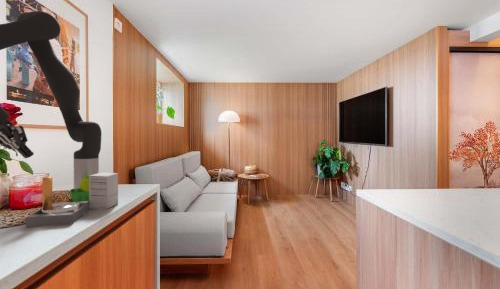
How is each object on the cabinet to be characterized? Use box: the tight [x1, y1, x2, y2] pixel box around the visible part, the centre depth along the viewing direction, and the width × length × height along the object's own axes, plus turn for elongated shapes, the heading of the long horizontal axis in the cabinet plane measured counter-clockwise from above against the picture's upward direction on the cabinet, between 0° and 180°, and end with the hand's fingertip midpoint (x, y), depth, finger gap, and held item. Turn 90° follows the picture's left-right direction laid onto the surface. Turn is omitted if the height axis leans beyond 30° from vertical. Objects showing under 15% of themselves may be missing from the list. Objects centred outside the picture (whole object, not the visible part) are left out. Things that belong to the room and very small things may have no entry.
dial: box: [41, 176, 79, 214], centre depth 82 cm, size 10×10×12 cm
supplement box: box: [89, 172, 119, 210], centre depth 96 cm, size 7×7×13 cm
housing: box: [25, 201, 91, 228], centre depth 82 cm, size 16×12×5 cm
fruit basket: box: [69, 176, 89, 202], centre depth 101 cm, size 11×9×11 cm
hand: (29, 156), depth 79 cm, fingers closed
